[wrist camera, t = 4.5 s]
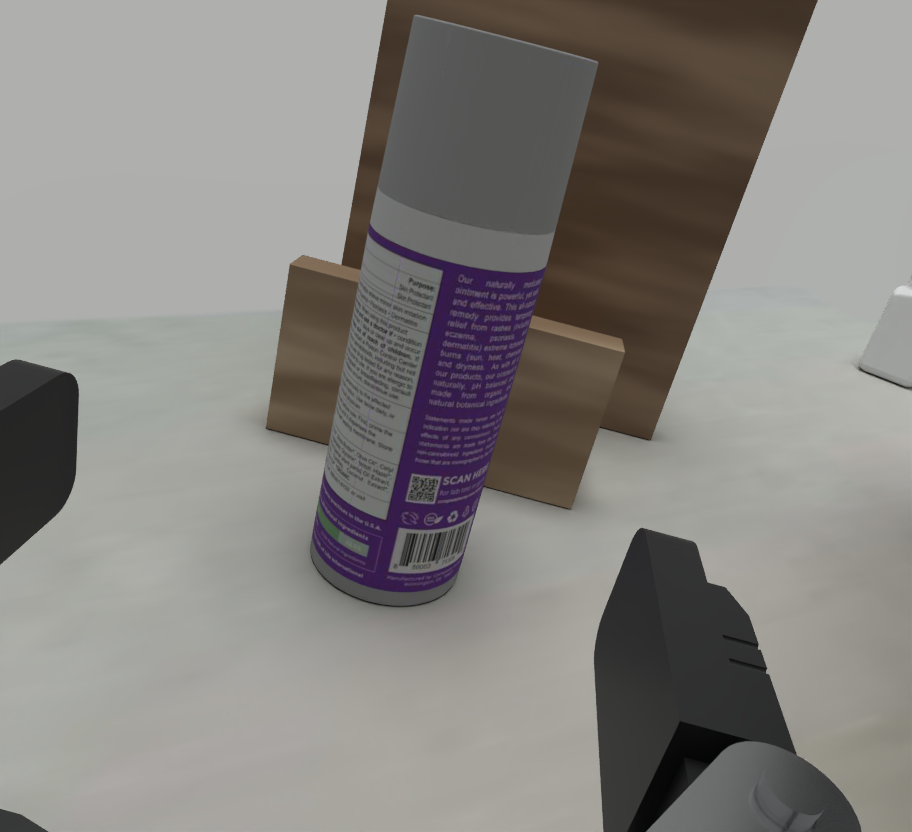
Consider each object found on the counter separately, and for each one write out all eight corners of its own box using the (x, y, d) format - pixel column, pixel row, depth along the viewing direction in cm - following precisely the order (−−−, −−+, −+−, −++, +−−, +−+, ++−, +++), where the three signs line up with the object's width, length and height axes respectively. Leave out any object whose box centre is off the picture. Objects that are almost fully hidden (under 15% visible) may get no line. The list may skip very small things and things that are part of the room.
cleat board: (673, 536, 30) (959, -148, 21) (266, 427, 30) (371, -296, 21) (647, 427, 39) (838, -84, 30) (334, 344, 39) (428, -188, 30)
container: (459, 530, 27) (590, 61, 21) (456, 620, 23) (620, 66, 17) (323, 501, 27) (415, 15, 20) (295, 588, 23) (400, 9, 16)
